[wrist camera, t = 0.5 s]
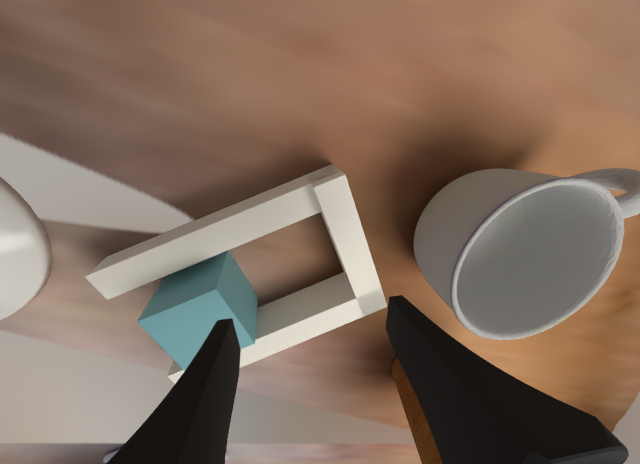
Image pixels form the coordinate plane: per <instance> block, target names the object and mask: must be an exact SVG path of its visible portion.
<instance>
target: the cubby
mask: <svg viewBox="0 0 640 464" xmlns="http://www.w3.org/2000/svg"><path fill="white" fill-rule="evenodd" d="M319 212H321V215H322V217H323V220H324V222H325V225H326V227H327V230H328V232H329V235H330V238H331V240H332V243H333V245H334V248H335V250H336V253H337V255H338V258H339V261H340V263H341V266H342V268H343V271H344V272H343V273H340V274H338V275H335V276H333V277H331V278H328V279H326V280H323V281H321V282H319V283H316V284H314V285H311V286H309V287H306V288H304V289H302V290H299V291H297V292H294V293H292V294H290V295H287V296H285V297H282V298H280V299H277V300H275V301H273V302H270V303H268V304H265V305H263V306H261V307H258V308H257V318H256V335H255V344H252V345H250V346H248V347H245V348H243V349H241V353H240V368H241V367H243V366H246V365H248V364H250V363H253V362H255V361H258V360H260V359H262V358H265V357H267V356H270V355H272V354H275V353H277V352H279V351H282V350H284V349H287V348H289V347H291V346H294V345H296V344H299V343H301V342H303V341H306V340H308V339H311V338H313V337H316V336H318V335H320V334H323V333H325V332H328V331H330V330H332V329H335V328H337V327H340V326H342V325H344V324H347V323H349V322H352V321H354V320H357V319H359V318H361V317H364V316H366V315H369V314H371V313H373V312H376V311H378V310H381V309H383V308H385V307H387V304H386V301H385V298H384V295H383V291H382V288H381V285H380V282H379V279H378V276H377V273H376V269H375V266H374V263H373V260H372V257H371V254H370V251H369V247H368V244H367V241H366V238H365V235H364V232H363V229H362V225H361V222H360V219H359V216H358V213H357V210H356V207H355V203H354V200H353V197H352V194H351V191H350V188H349V185H348V181H347V178H346V175H345V174H344V173H343V172H342V171H340V170H339V169H338V168H337V167H335V166H334V165H333V164H331V165H328V166H326V167H323V168H321V169H319V170H316V171H314V172H311V173H309V174H306V175H304V176H301V177H299V178H297V179H294V180H292V181H289V182H287V183H284V184H282V185H280V186H277V187H275V188H272V189H270V190H267V191H265V192H263V193H260V194H258V195H255V196H253V197H250V198H248V199H246V200H243V201H241V202H238V203H236V204H233V205H231V206H229V207H226V208H224V209H221V210H219V211H216V212H214V213H212V214H209V215H207V216H204V217H202V218H199V219H197V220H195V221H192V222H190V223H187V224H185V225H182V226H180V227H177V228H175V229H173V230H170V231H168V232H165V233H163V234H160V235H158V236H156V237H153V238H151V239H148V240H146V241H143V242H141V243H139V244H136V245H134V246H131V247H129V248H126V249H124V250H122V251H119V252H117V253H114V254H112V255H109V256H107V257H106V258H105V259H104V260H103V261H101V262H100V263H99V264H98V265H97V266H96V267H95V268H94V269H92V270H91V271H90V272H89V273H88V274H87V275H86V276H85V278H86V279H87V280H88V281H89V282H90V283H91V284H92V285H93V286H94V287H95V288H96V289H97V290H98V291H99V292H100V293H101V294H102V295H103V296H104V297H105V298H106V299H107V300H108V299H111V298H113V297H116V296H118V295H121V294H123V293H125V292H128V291H130V290H133V289H135V288H138V287H140V286H142V285H145V284H147V283H150V282H152V281H154V280H157V279H159V278H162V277H164V276H167V275H169V274H171V273H174V272H176V271H179V270H181V269H184V268H186V267H188V266H191V265H193V264H196V263H198V262H201V261H203V260H205V259H208V258H210V257H213V256H215V255H218V254H220V253H222V252H225V251H227V250H230V249H232V248H235V247H237V246H239V245H242V244H244V243H247V242H249V241H252V240H254V239H256V238H259V237H261V236H264V235H266V234H269V233H271V232H273V231H276V230H278V229H281V228H283V227H286V226H288V225H290V224H293V223H295V222H298V221H300V220H303V219H305V218H307V217H310V216H312V215H315V214H317V213H319ZM183 373H184V370H183V369H182V368H181V367H180V366H179V365H178V364H177V363H176V362H175V361H173V363H172V366H171V368H170V371H169V373H168V377H169V378H170V379H171V380H172V381H173V382H174V383H175V384H176V382H177V381H178V380H179V378H180V377H181V375H182V374H183Z"/></svg>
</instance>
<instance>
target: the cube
mask: <svg viewBox="0 0 640 464" xmlns="http://www.w3.org/2000/svg"><path fill="white" fill-rule="evenodd" d="M257 302H258V296H257V295H256V293H255V291H254V290H253V288H252V287H251V285H250V283H249V282H248V280H247V279H246V277H245V275H244V274H243V272H242V271H241V269H240V267H239V266H238V264H237V263H236V261H235V259H234V258H233V256H232V255H231V253H230V251H229V250H227V251H225V252H222V253H220V254H218V255H215V256H213V257H210V258H208V259H205V260H203V261H201V262H198V263H196V264H193V265H191V266H188V267H186V268H184V269H181V270H179V271H176V272H174V273H171V274H169V275H167V276H166V277H165V278H164V280H163V281H162V283H161V284H160V286H159V288H158V289H157V291H156V292H155V294H154V295H153V297H152V299H151V300H150V302H149V303H148V305H147V307H146V308H145V310H144V311H143V313H142V314H141V316H140V318H139V319H138V321H137V323H138V324H139V325H140V326H141V327H142V328H143V329H144V330H145V331H146V332H147V333H148V334H149V335H150V336H151V337H152V338H153V339H154V340H155V341H156V342H157V343H158V344H159V345H160V346H161V347H162V348H163V349H164V350H165V351H166V352H167V353H168V354H169V355H170V357H171V358H172V359H173V360H174V361H175V362H176V363H177V364H178V365H179V366H180V367H181V368H182V369H183V370H184V371H185V370H186V369H187V367H188V366H189V364H190V363H191V361H192V360H193V358H194V357H195V355H196V354H197V352H198V351H199V349H200V348H201V346H202V344H203V343H204V341H205V340H206V338H207V336H208V335H209V333H210V331H211V330H212V328H213V326H214V325H215V323H216V322H217V321H218V320H222V319H229V318H232V319H233V323H234V326H235V330H236V334H237V337H238V341H239V345H240V348H241V349H243V348H245V347H248V346H250V345H252V344H255V335H256V318H257Z"/></svg>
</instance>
